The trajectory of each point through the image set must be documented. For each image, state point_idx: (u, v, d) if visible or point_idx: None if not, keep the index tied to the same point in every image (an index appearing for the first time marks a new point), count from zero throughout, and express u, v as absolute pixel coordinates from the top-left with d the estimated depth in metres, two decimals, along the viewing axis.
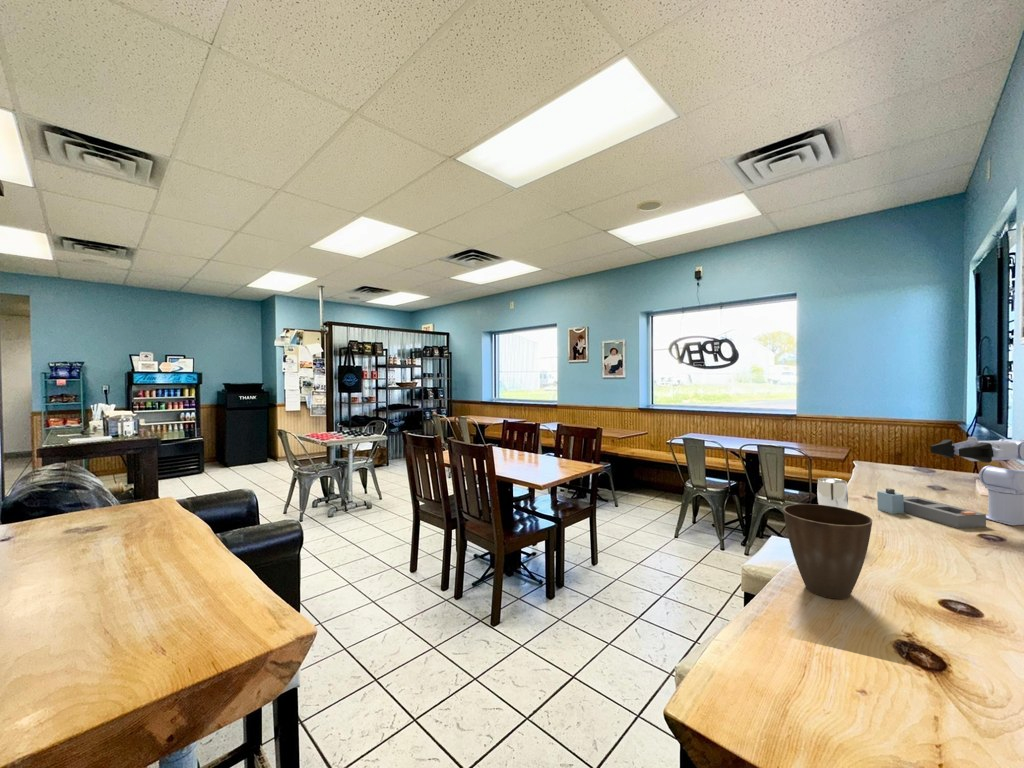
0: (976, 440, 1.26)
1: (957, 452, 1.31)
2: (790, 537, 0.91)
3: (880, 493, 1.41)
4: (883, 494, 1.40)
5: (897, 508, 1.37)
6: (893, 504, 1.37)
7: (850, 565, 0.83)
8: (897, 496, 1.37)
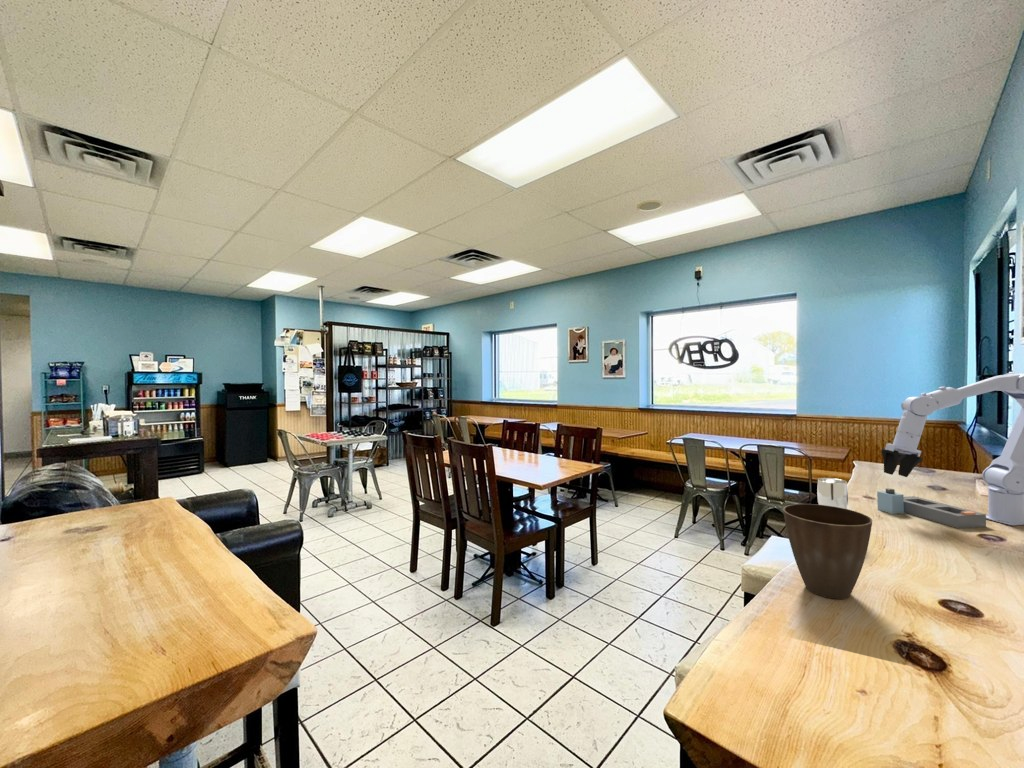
0: None
1: (914, 452, 1.37)
2: (790, 537, 0.91)
3: (880, 493, 1.41)
4: (883, 494, 1.40)
5: (897, 508, 1.37)
6: (893, 504, 1.37)
7: (850, 565, 0.83)
8: (897, 496, 1.37)
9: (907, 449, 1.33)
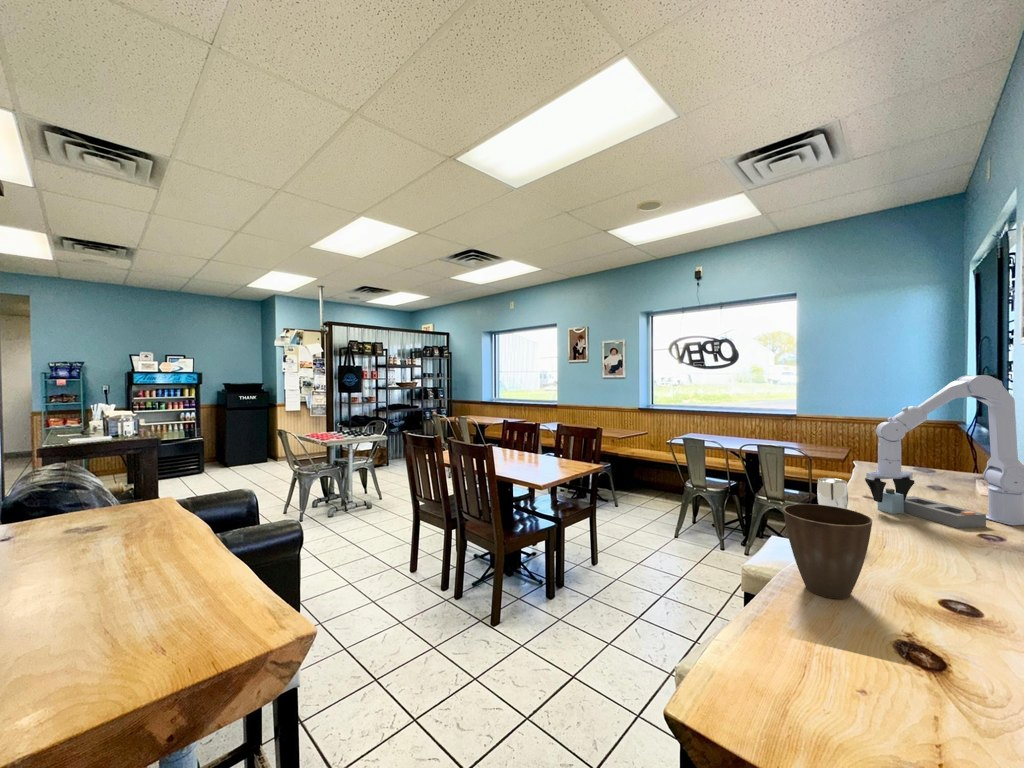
0: None
1: None
2: (790, 537, 0.91)
3: None
4: (883, 494, 1.40)
5: (897, 508, 1.37)
6: (893, 504, 1.37)
7: (850, 565, 0.83)
8: (897, 496, 1.37)
9: (888, 475, 1.37)
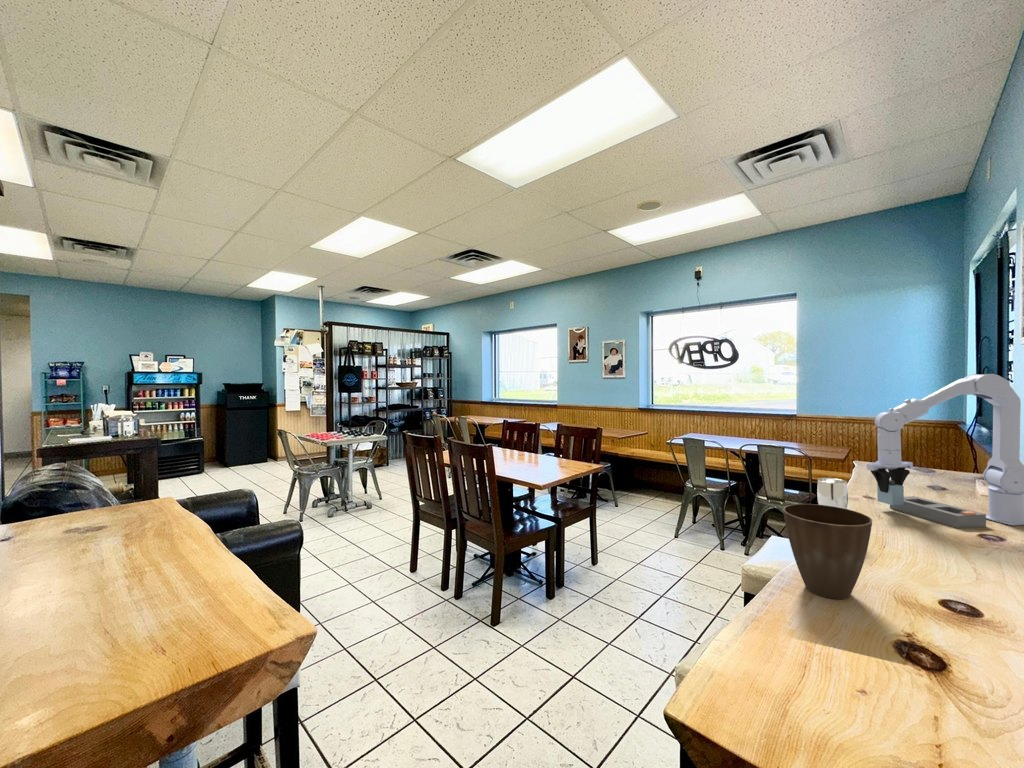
0: None
1: None
2: (790, 537, 0.91)
3: None
4: None
5: (897, 499, 1.37)
6: (893, 495, 1.37)
7: (850, 565, 0.83)
8: (897, 487, 1.37)
9: (889, 465, 1.37)
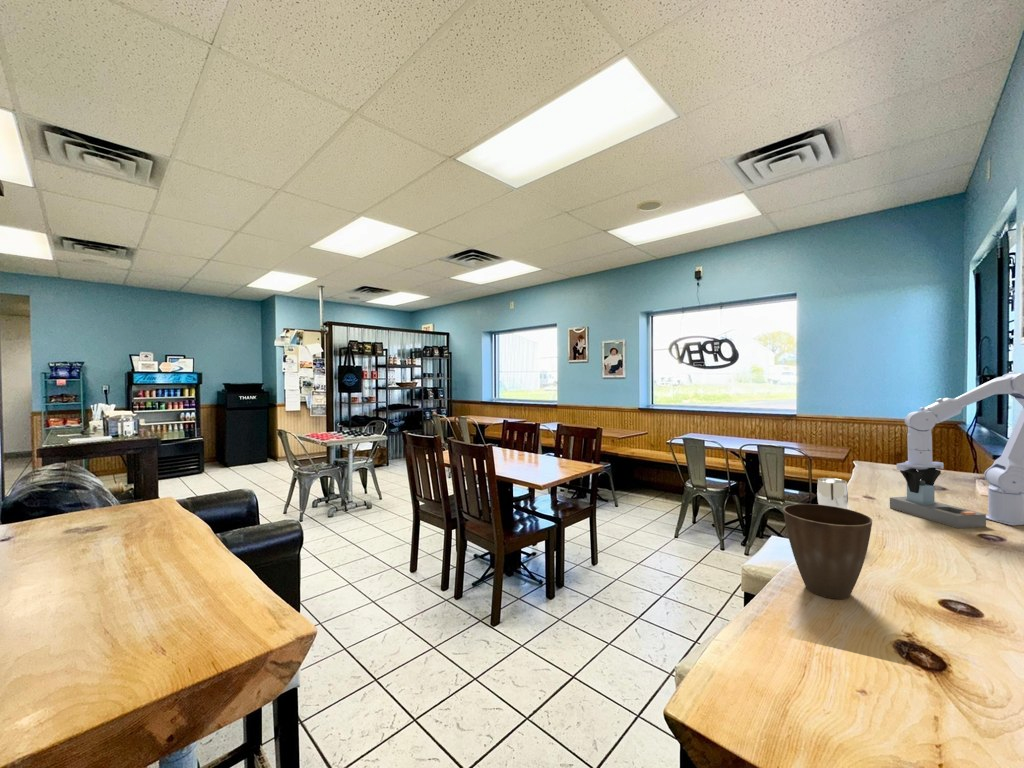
0: None
1: None
2: (790, 537, 0.91)
3: None
4: None
5: (928, 499, 1.35)
6: (924, 496, 1.35)
7: (850, 565, 0.83)
8: (928, 488, 1.35)
9: (920, 466, 1.35)
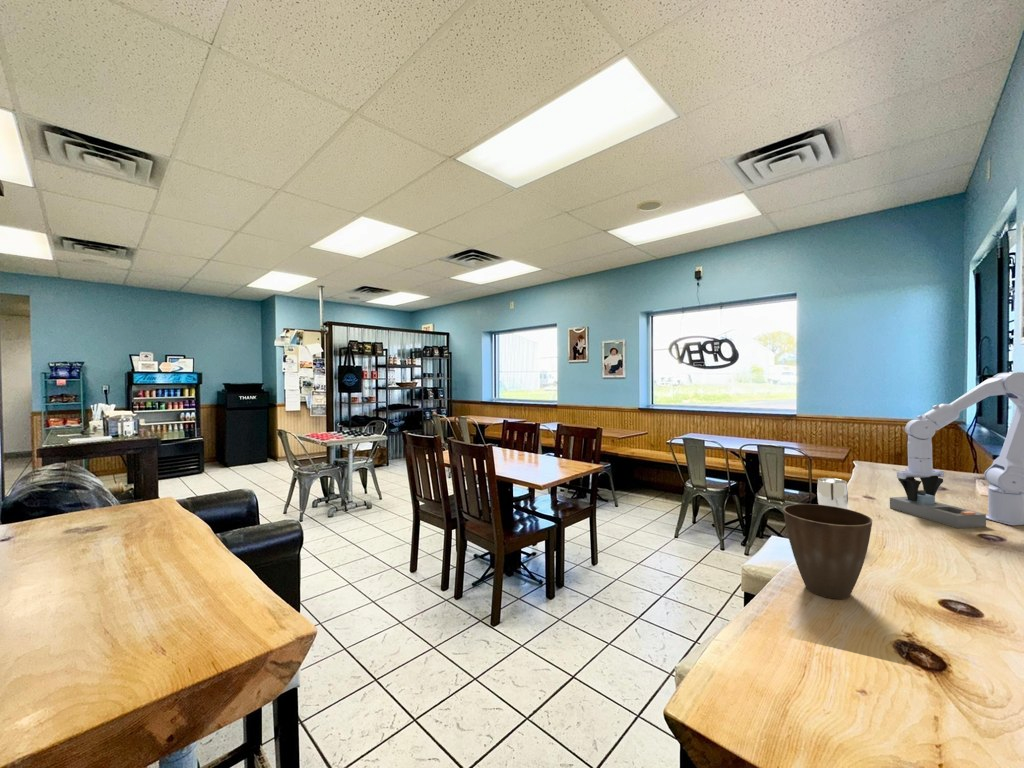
0: None
1: None
2: (790, 537, 0.91)
3: None
4: None
5: None
6: None
7: (850, 565, 0.83)
8: (928, 497, 1.35)
9: (920, 474, 1.35)
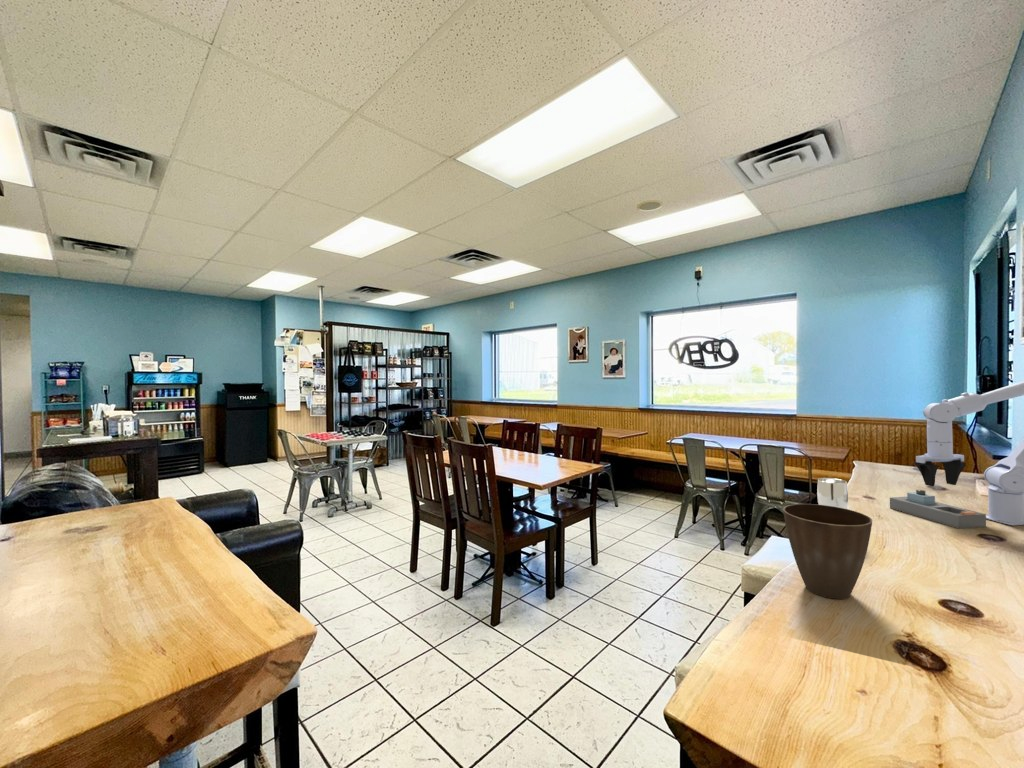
0: (926, 455, 1.37)
1: None
2: (790, 537, 0.91)
3: (910, 494, 1.38)
4: (913, 495, 1.37)
5: None
6: None
7: (850, 565, 0.83)
8: (928, 497, 1.35)
9: (940, 458, 1.32)
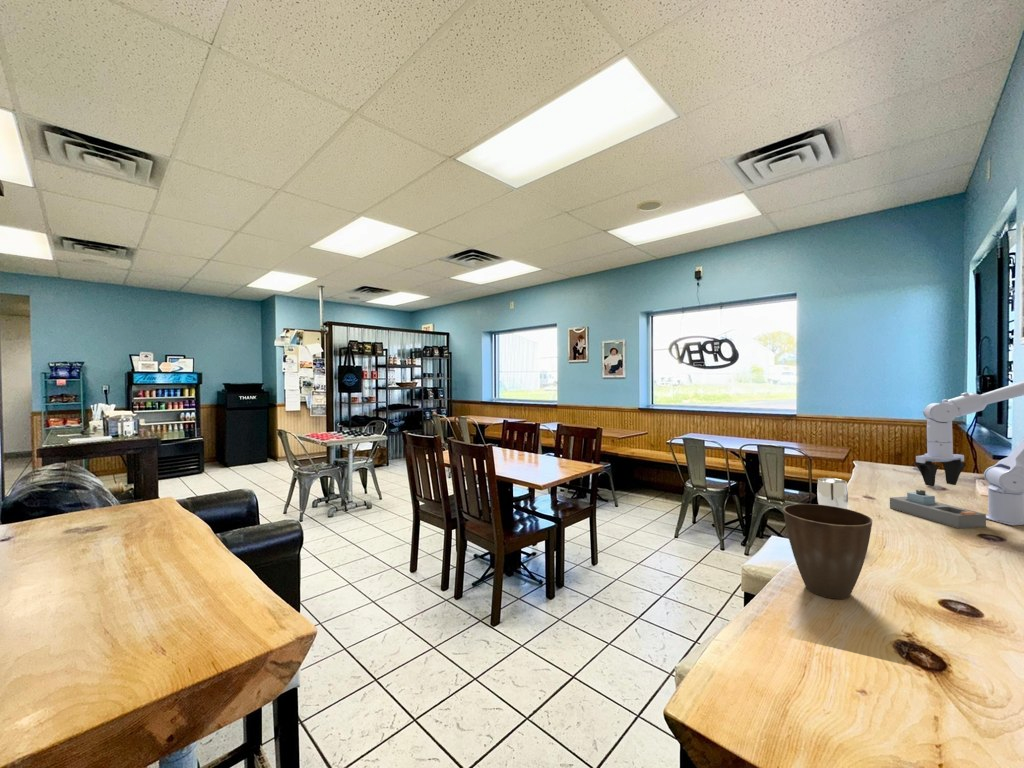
0: (926, 455, 1.37)
1: None
2: (790, 537, 0.91)
3: (910, 494, 1.38)
4: (913, 495, 1.37)
5: None
6: None
7: (850, 565, 0.83)
8: (928, 497, 1.35)
9: (940, 458, 1.32)
